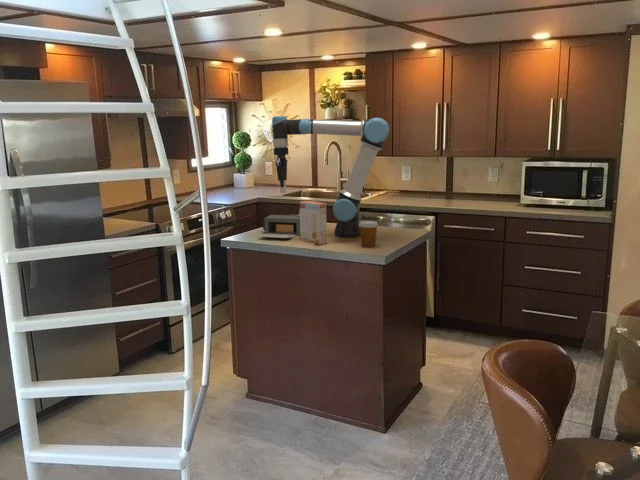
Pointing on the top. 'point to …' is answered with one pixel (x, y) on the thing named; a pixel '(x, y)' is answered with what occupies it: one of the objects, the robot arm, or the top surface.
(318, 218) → the cracker box
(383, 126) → the robot arm
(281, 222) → the block
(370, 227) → the disposable coffee cup
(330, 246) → the top surface
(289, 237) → the side door
